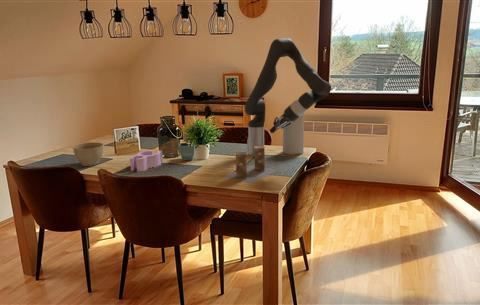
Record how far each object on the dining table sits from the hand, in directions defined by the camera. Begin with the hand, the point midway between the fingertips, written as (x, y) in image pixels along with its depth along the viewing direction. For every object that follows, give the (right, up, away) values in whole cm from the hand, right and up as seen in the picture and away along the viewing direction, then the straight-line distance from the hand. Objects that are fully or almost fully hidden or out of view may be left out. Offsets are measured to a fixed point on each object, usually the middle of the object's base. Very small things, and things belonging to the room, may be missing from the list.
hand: (271, 131), depth 201 cm
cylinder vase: (+16, -11, +39) cm, 44 cm away
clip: (-68, -19, +17) cm, 72 cm away
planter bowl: (-101, -17, +23) cm, 105 cm away
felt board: (-10, -22, -3) cm, 24 cm away
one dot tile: (-15, -23, -8) cm, 28 cm away
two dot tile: (-6, -20, +3) cm, 21 cm away
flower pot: (-46, -15, +29) cm, 57 cm away
